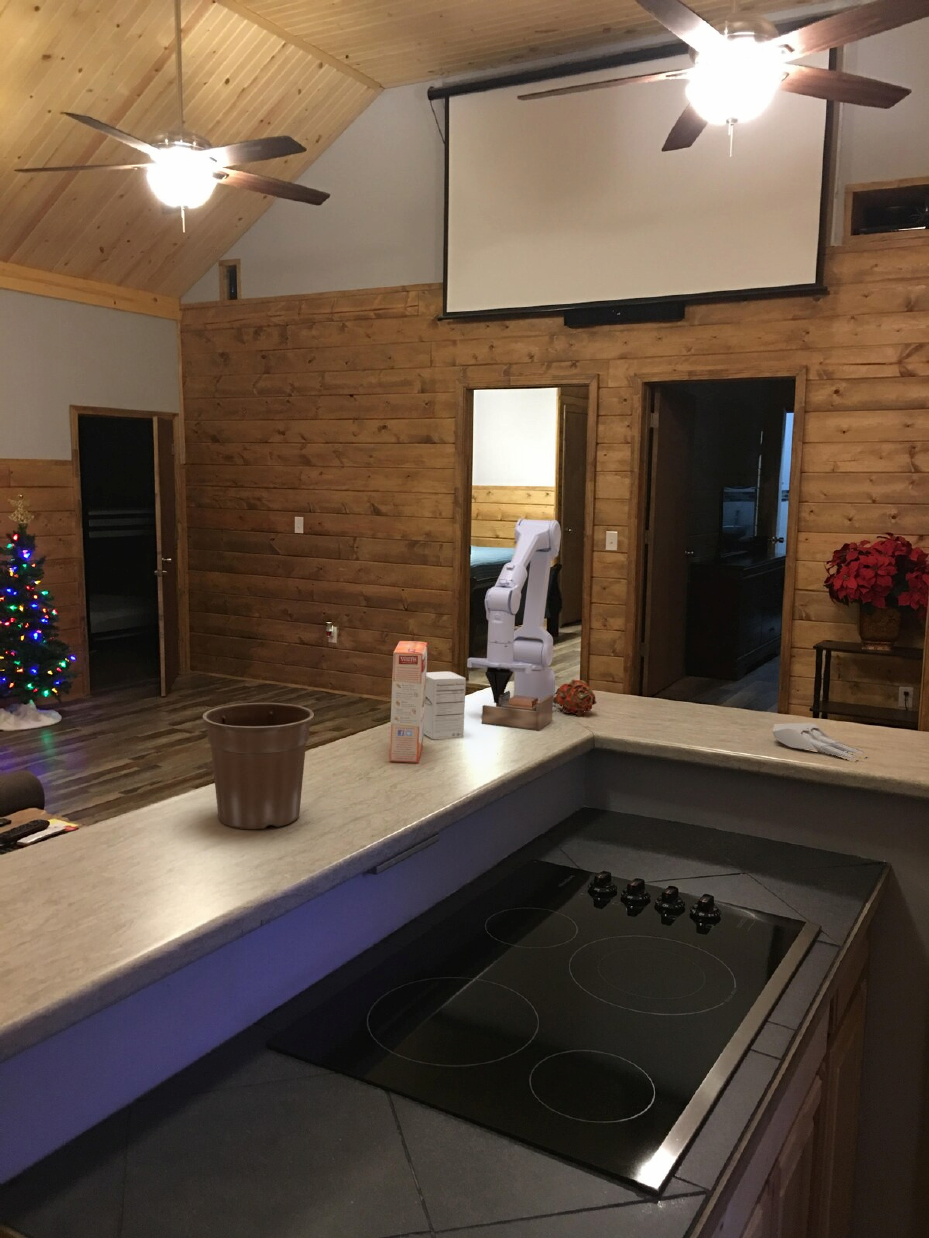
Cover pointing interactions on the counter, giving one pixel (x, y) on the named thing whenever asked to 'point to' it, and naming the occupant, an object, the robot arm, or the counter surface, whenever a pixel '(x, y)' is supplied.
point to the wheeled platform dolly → (518, 702)
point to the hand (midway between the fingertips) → (498, 702)
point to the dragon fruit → (575, 697)
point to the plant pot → (258, 762)
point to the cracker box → (408, 701)
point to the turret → (811, 739)
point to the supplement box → (444, 705)
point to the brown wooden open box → (519, 715)
